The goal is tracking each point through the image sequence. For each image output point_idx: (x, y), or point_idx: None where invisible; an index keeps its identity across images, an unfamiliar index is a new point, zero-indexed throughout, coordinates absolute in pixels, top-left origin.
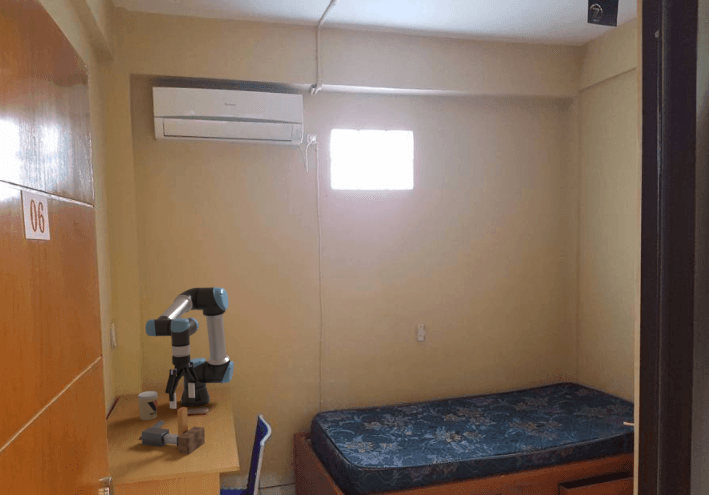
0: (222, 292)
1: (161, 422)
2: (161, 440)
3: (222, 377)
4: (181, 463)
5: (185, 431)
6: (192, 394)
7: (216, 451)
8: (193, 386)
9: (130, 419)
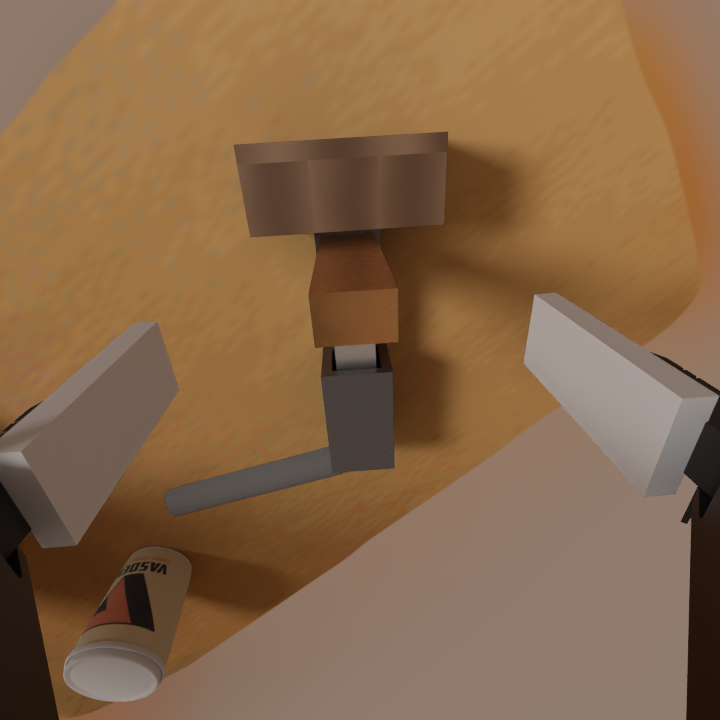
0: None
1: (181, 497)
2: (386, 354)
3: None
4: (537, 98)
5: (346, 240)
6: (144, 360)
7: None
8: (62, 413)
9: (212, 596)
